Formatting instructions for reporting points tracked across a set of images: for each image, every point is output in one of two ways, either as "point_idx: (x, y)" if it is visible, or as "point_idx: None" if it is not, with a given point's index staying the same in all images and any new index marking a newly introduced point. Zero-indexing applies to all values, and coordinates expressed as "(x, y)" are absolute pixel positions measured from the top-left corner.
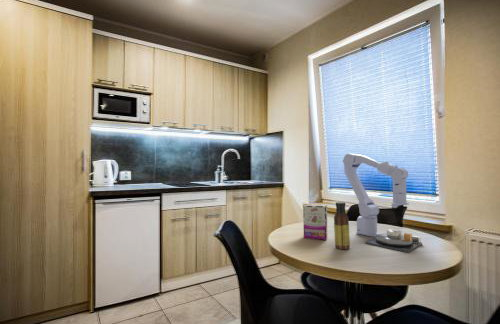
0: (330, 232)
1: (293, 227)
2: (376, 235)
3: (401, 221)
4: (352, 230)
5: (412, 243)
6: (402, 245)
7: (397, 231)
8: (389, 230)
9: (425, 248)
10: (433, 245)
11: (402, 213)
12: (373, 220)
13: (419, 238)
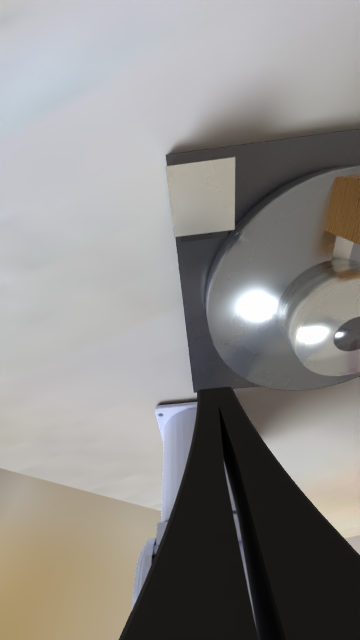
0: None
1: None
2: (334, 381)
3: (230, 389)
4: None
5: (317, 172)
6: None
7: (357, 311)
8: (354, 359)
9: (281, 65)
10: (113, 56)
11: (304, 498)
12: (232, 496)
13: (205, 161)
